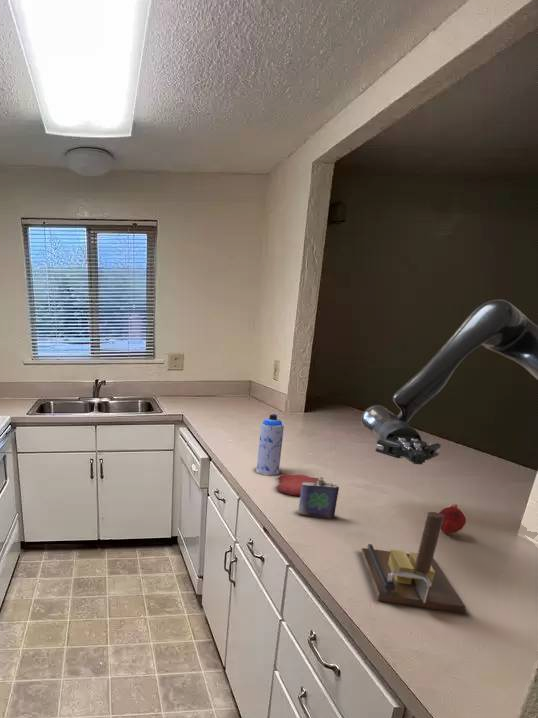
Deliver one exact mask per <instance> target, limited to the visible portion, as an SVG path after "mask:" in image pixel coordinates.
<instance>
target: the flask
mask: <svg viewBox="0 0 538 718" xmlns="http://www.w3.org/2000/svg"><path fill="white" fill-rule="evenodd" d="M323 479H324V477H323V476H320V477H318V481H317V483H303V484H302V488H301V496H299V502H298V503H299V504H298V511H297V513H298V515H302V516H304V517H307V516H309V517H317V518H318V517H320V518H328V519H333V518H335V514H336V509H337V501H338V495H339V490H340V487H339V486H338V485H337V484H335V483H332V482H326V481H325V480H323Z"/></svg>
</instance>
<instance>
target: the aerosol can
mask: <svg viewBox="0 0 538 718" xmlns="http://www.w3.org/2000/svg"><path fill="white" fill-rule="evenodd" d="M284 428H285V425H284V423H283V421H282V420H281V419H279V418H278V415H277V414H275V413H271V414H269V417H267V418H266V419H264V420H263V421H262V422H261V424H260V430H259V431H260V432H259V441H258V451H257V463H256V468H255V471H256V473H258V474H261V475H265V476H276V475H280V465H281V457H282V447H283V438H284V430H285V429H284Z"/></svg>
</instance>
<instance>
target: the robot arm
mask: <svg viewBox="0 0 538 718" xmlns="http://www.w3.org/2000/svg"><path fill="white" fill-rule="evenodd" d="M480 346H481V347H483V348H485V349H488V350H490V351H491V352H493V353H497V354H499V355H501V356H503V357H505V358H506V359H509V360H510V361H511V360H512V361H513V362H515V363H517V364H519V365H520V366H522V367H523V368H524V369H525V370H526V371H527V372H528V373H529V374H530V375H531V376H532V377H534V379H536V381H538V325H537V324H535V323H534V322H533V321H532V320H530V319H529V318H528V317H527V316H526V315H525V314H524V313H523V312H521V310H520V309H518V308H517V307H516V306H515V305H513V304H512V303H511V302H509V301H508V300H505V299H502V298H501V299H499V298H498V299H492V300H487V301H485V302H484V303H482V304H481V305H479V306H478V307H476V308H475V309H474V310H473V311H472V312H470V314H469V315H468V316H467V318H465V319H464V321H462V323H461V325H459V326H458V328H457V329H456V330H455V331H454V332H453V333H452V335H451V336H450V337H449V338H448V339H447V340H446V342H445V343H444V344H443V345H442V347H440V348H439V350H438V351H437V352H436V353H435V354H434V355H433V357H432V358H431V359H430V360H429V361H428V362H427V363H426V365H424V366H423V367H422V368H421V369H420V370H419V371H418V372H417V373H416V374H415V375H414V376H413V377H411V378H410V379H409V380H408V381H407V382H406V383H405V384H404V385H403V386H401V387H400V388H399V389H398V390H396V392H395V393H394V394H393V396H392V401H393V402H394V404H395V405H396V406H397V408H398V409H399V410H400V411H399V413H398V415H396V414H395V413H393V412H392V411H390V410H389V409H388V408H386V407H385V406H384V405H382V404H374V405H371V406H369V407H368V408H366V409H365V410H364V411H363V413H362V414H361V417H360V423H361V426H363V428H365V429H366V430H367V431H368V432H370V433H371V434H372V435H373V436H374V437H375V439H376V440H377V441H376V445H375V452H376V453H379V454H382V455H386V456H389V457H392V458H395V459H405V460H408V461H409V462H410V463H412V464H413V465H423V463H426V461H429V460H431V459H433V458H436V457H438V456H439V455H440V451H441V446H442V444H441V443H438V442H437V443H430V444H428V442H426V441H424V440H422V438H421V437H422V436H421V435H420V433H419V432H418V431H417V430H416V429H415V428H414V427H413V426H411V425H410V424H409V422H410V420H411V419H412V418H413V417H414V416H415V414H416V413H417V412H418V411H419V410H420V409H422V408H423V407H424V406H425V405H426V404H428V403H429V402H430V401H431V400H432V399H434V398H435V397H436V396H437V395H438V394H440V392H441V391H442V389H443V388H444V387H445V386H446V385H447V383H448V381H449V380H450V378H451V376H452V375H453V373H454V372H455V370H456V369H457V367H458V366H459V364H461V363H462V362H463V360H464V359H465V358H466V357H467V356H468V355H469V354H470V353H472V352H473V351H474V350H475V349H477V348H479V347H480Z"/></svg>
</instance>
